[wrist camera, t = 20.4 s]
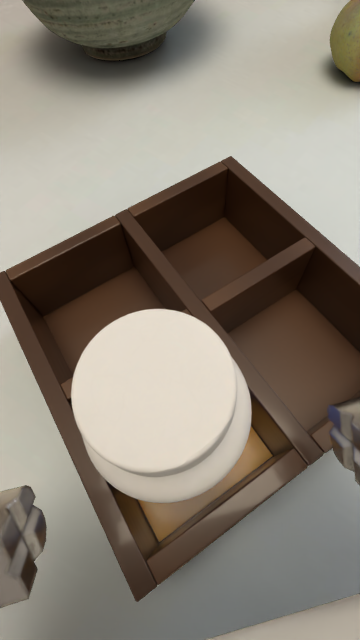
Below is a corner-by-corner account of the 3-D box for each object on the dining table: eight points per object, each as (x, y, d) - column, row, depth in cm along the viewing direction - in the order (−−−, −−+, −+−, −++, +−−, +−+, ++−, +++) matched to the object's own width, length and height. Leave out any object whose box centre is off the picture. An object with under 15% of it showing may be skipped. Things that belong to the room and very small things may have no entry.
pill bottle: (172, 363, 18) (144, 248, 10) (255, 426, 16) (313, 356, 8) (103, 444, 16) (-9, 396, 8) (187, 525, 15) (164, 579, 6)
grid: (155, 571, 15) (136, 603, 11) (31, 318, 21) (-11, 277, 17) (398, 381, 18) (457, 349, 14) (226, 211, 24) (231, 155, 20)
